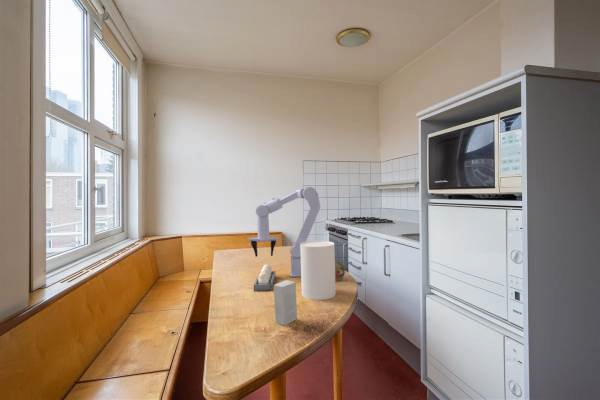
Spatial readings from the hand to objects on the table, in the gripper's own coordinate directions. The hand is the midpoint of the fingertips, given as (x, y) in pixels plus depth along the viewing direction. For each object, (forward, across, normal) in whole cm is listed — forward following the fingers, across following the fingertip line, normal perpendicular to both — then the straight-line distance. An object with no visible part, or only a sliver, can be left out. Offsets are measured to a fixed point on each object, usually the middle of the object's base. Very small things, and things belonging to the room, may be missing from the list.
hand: (264, 256), depth 144 cm
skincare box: (+10, +13, -54) cm, 56 cm away
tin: (+10, +31, -12) cm, 35 cm away
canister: (+10, +25, -30) cm, 40 cm away
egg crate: (+9, +2, -14) cm, 17 cm away
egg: (+9, +2, -21) cm, 23 cm away
